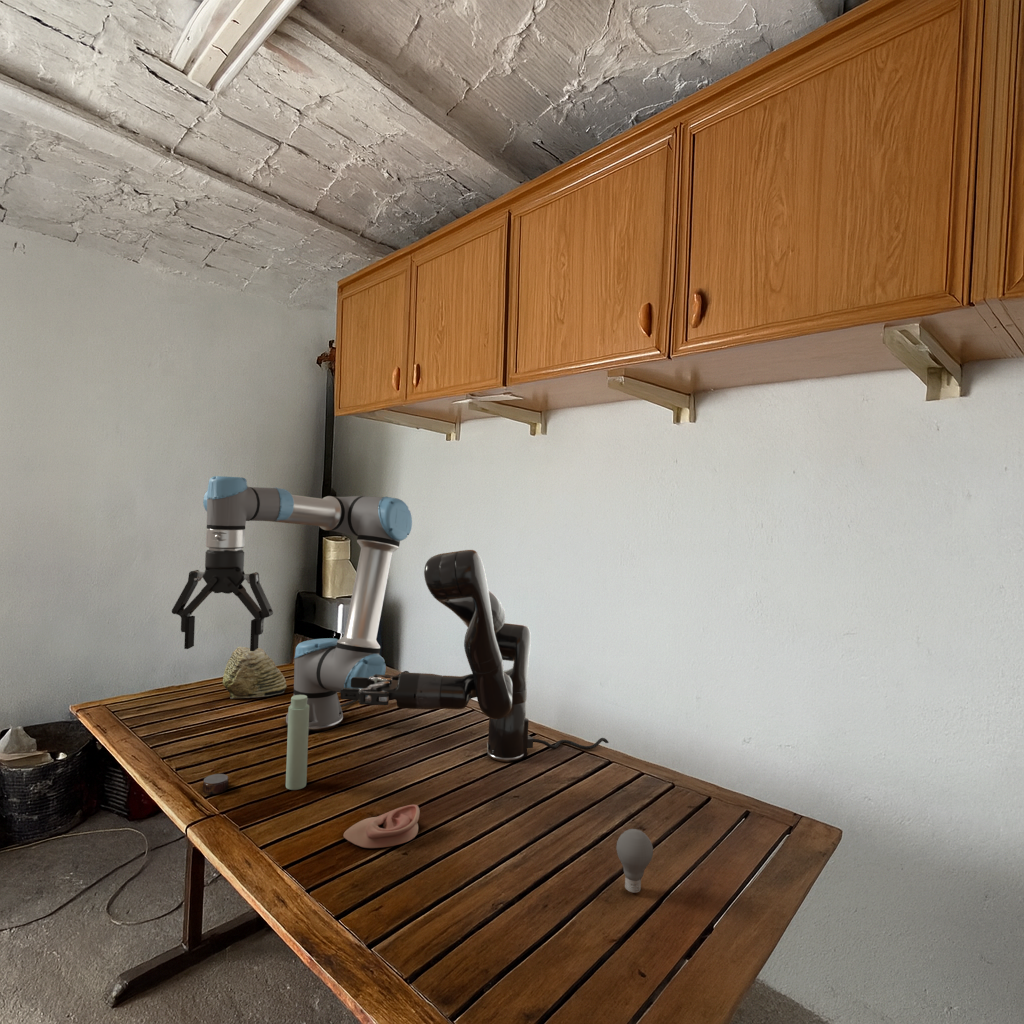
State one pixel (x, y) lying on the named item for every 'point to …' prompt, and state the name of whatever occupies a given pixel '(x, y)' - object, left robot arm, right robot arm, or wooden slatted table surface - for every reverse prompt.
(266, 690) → the fossil
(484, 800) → the wooden slatted table surface
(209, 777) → the lid
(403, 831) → the anatomical model
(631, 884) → the light bulb
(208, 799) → the wooden slatted table surface
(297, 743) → the pale green tube
